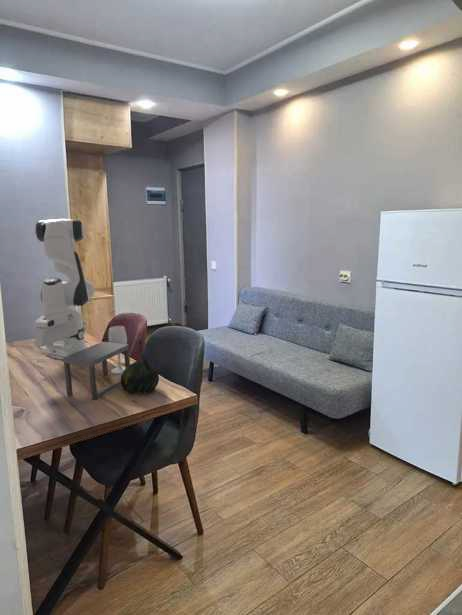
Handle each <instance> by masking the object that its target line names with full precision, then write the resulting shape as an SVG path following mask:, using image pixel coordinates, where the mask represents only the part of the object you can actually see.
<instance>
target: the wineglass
mask: <svg viewBox="0 0 462 615" xmlns="http://www.w3.org/2000/svg"><path fill="white" fill-rule="evenodd" d="M126 332H127V330H126V328H125V327H124V326H123V325H114V326H111V327H110V328H109V330H108V342H110V343H119V344H128V337H127V333H126ZM117 358H118V360H117V362H118V366H117V367H115V368H113V369H111V370H110V373H111V374H113V375H122V373H123V371H124V370H125V366H122V360H121V353H119V354H117Z"/></svg>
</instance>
